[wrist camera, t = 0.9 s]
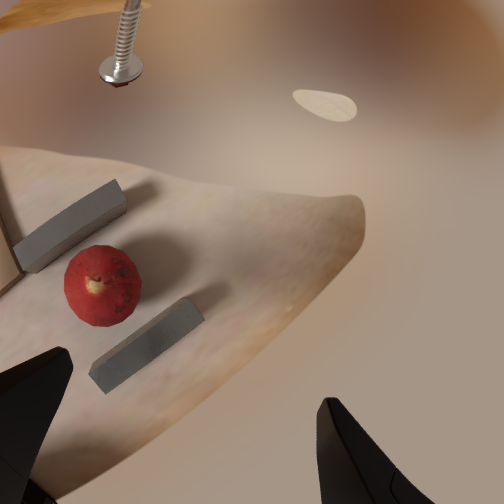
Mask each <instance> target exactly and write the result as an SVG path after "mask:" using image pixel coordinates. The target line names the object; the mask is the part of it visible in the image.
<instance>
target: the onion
mask: <svg viewBox="0 0 504 504" xmlns="http://www.w3.org/2000/svg"><path fill="white" fill-rule="evenodd" d="M140 290H141V280H140V277H139V274H138V271H137V268H136V265H135V264H134V263H133V262H132V261H131V260H130V259H129V257H128V256H127V255H126V254H125V253H124V252H123V251H121V250H118V249H116V248H114V247H111V246H107V245H94V246H92V247H89V248H87V249H84V250H82V251H81V252H79V253H78V254H77V255H76V256H75V257H74V258H73V259H72V260H70V262H69V265H68V267H67V270H66V272H65V275H64V292H65V295H66V298H67V300H68V303H69V306H70V307H71V309H72V310H73V311H74V312H75V314H76V315H77V316H78V317H79V319H81V320H83V321H85V322H87V323H88V324H90V325H92V326H100V327H109V326H112V325H115V324H118V323H120V322H123V321H124V320H125V319H126V318H127V317H128V316H130V315H131V314H132V313H133V311H134V309H135V307H136V305H137V303H138V301H139V299H140Z"/></svg>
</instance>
